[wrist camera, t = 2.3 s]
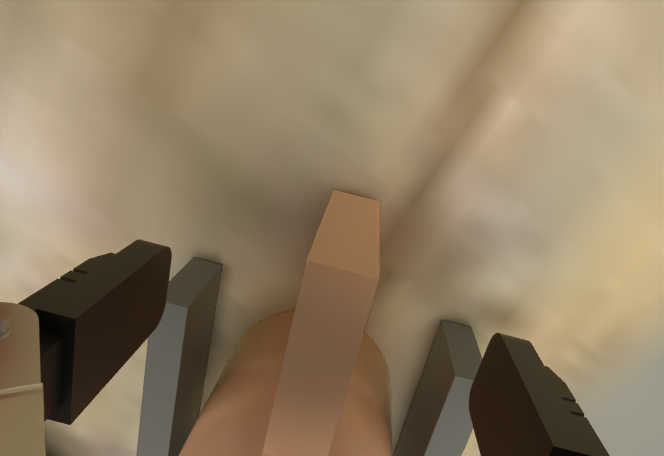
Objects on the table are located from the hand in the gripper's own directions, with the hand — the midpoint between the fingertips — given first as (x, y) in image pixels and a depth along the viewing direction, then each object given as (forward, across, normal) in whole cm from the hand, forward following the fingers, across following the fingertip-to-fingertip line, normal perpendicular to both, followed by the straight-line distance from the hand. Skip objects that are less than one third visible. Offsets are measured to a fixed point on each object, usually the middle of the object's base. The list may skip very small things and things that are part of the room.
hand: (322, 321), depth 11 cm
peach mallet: (+7, 0, +4) cm, 8 cm away
